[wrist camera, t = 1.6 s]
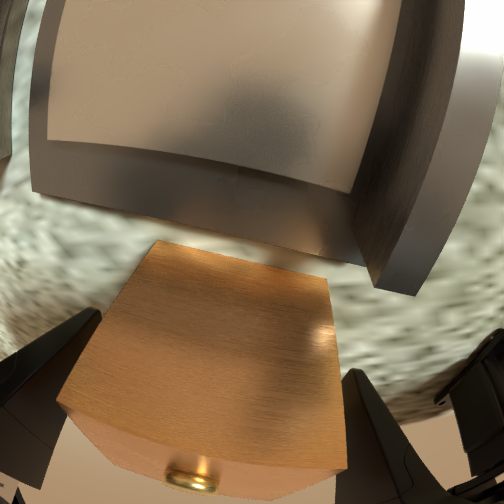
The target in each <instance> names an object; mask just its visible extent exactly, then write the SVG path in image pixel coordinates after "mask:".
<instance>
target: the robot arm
mask: <svg viewBox="0 0 504 504" xmlns="http://www.w3.org/2000/svg"><path fill="white" fill-rule="evenodd" d="M101 321H102V315H101V312H100V310H99V309H96V308H93V307H88V308H86V309H85V310H83V311H81V312H80V313H78V314H76V315H75V316H73V317H71V318H70V319H68V320H66V321H65V322H63V323H61V324H60V325H58V326H57V327H55V328H53V329H52V330H50V331H48V332H47V333H45V334H44V335H42V336H40V337H39V338H37V339H36V340H34V341H32V342H31V343H29V344H28V345H26V346H24V347H23V348H21V349H20V350H18V351H17V352H15V353H13V354H12V355H10V356H9V357H7V358H5V359H4V360H2V361H1V362H0V504H25V502H24V499H23V497H22V495H21V493H20V490H19V488H18V484H19V481H20V482H22V483H24V484H27V485H29V486H31V487H34V488H36V489H39V490H40V489H41V486H42V483H43V480H44V477H45V474H46V471H47V468H48V465H49V462H50V459H51V456H52V454H53V450H54V448H55V445H56V443H57V440H58V437H59V435H60V432H61V430H62V427H63V425H64V422H65V420H66V418H67V414H66V413H65V411H64V410H63V409H62V408H61V406H60V405H59V404H58V402H57V401H56V399H57V397H58V395H59V393H60V391H61V389H62V387H63V385H64V384H65V382H66V380H67V378H68V376H69V375H70V373H71V371H72V369H73V367H74V366H75V364H76V362H77V360H78V359H79V357H80V355H81V354H82V352H83V350H84V349H85V347H86V345H87V344H88V342H89V340H90V339H91V337H92V335H93V334H94V332H95V330H96V329H97V327H98V326H99V324H100V323H101ZM341 384H342V394H343V405H344V417H345V431H346V447H347V469H346V470H344V471H342V472H340V473H338V474H336V493H335V504H504V480H503V481H502V482H500V483H498V484H497V482H496V480H495V478H496V477H498V476H500V475H502V474H503V473H504V329H503V330H501V331H500V332H498V333H497V334H496V335H495V337H494V338H493V339H492V340H491V341H490V343H489V344H488V345H487V346H486V347H485V349H484V350H483V351H482V352H481V353H480V354H479V355H478V357H477V358H476V359H475V360H474V361H473V362H472V363H471V364H470V365H469V366H468V367H467V368H466V369H465V370H464V371H463V372H462V373H461V374H460V375H459V376H458V377H457V378H456V379H455V380H454V381H453V382H452V383H451V384H450V385H449V386H448V387H447V388H446V389H445V390H444V391H443V392H442V393H441V394H439V395H438V396H437V397H436V398H435V399H434V401H433V402H434V405H435V407H448V406H453V410H454V413H455V417H456V421H457V424H458V428H459V432H460V437H461V441H462V445H463V450H464V452H465V453H467V455H468V461H469V466H470V472H471V477H473V476H478V477H476V478H474V479H472V480H470V481H467V482H465V483H462V484H460V485H457V486H454V487H452V488H450V489H448V490H447V491H446V490H445V489H444V488H443V487H442V486H441V485H440V484H439V482H438V481H437V480H436V479H435V477H434V476H433V475H432V474H431V473H430V471H429V470H428V468H427V467H426V466H425V464H424V463H423V462H422V460H421V459H420V458H419V456H418V455H417V453H416V451H415V450H414V448H413V447H412V445H411V444H410V443H409V441H408V439H407V437H406V436H405V435H404V433H403V431H402V430H401V428H400V426H399V425H398V423H397V422H396V420H395V419H394V417H393V416H392V414H391V412H390V411H389V409H388V408H387V406H386V405H385V403H384V402H383V400H382V399H381V397H380V396H379V394H378V392H377V391H376V389H375V388H374V386H373V385H372V383H371V382H370V380H369V379H368V377H367V376H366V374H365V373H364V371H363V370H362V369H356V368H352V369H350V370H349V371H348V373H347V374H346V375H345V376H344V378H343V379H342V380H341Z"/></svg>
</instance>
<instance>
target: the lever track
mask: <svg viewBox="0 0 504 504" xmlns="http://www.w3.org/2000/svg"><path fill="white" fill-rule="evenodd" d="M28 1H29V0H0V159H2V158H5V157H7V156H9V155H11V154H12V150H11V101H12V86H13V76H14V67H15V60H16V53H17V47H18V42H19V37H20V32H21V27H22V23H23V19H24V15H25V11H26V8H27V4H28Z"/></svg>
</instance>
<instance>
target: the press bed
mask: <svg viewBox="0 0 504 504" xmlns="http://www.w3.org/2000/svg"><path fill="white" fill-rule="evenodd" d="M503 66H504V0H47V1H46V5H45V9H44V12H43V16H42V20H41V24H40V29H39V33H38V38H37V44H36V49H35V55H34V62H33V69H32V78H31V88H30V103H29V158H30V173H31V184H32V192H37V193H42V194H47V195H52V196H56V197H61V198H66V199H71V200H75V201H80V202H85V203H90V204H94V205H99V206H104V207H108V208H113V209H118V210H122V211H127V212H131V213H136V214H141V215H145V216H150V217H154V218H159V219H163V220H168V221H172V222H177V223H181V224H185V225H190V226H194V227H199V228H203V229H207V230H212V231H216V232H221V233H225V234H229V235H234V236H238V237H242V238H247V239H251V240H255V241H259V242H264V243H268V244H272V245H276V246H281V247H285V248H289V249H293V250H297V251H302V252H306V253H310V254H314V255H318V256H322V257H327V258H331V259H335V260H339V261H343V262H347V263H351V264H355V265H359V266H363V267H367V270H368V272H369V275H370V278H371V280H372V283H373V286H374V288H378V289H383V290H387V291H392V292H396V293H401V294H406V295H410V296H416V294H417V293H418V291H419V289H420V288H421V286H422V285H423V283H424V281H425V280H426V278H427V276H428V274H429V273H430V271H431V269H432V267H433V266H434V264H435V262H436V260H437V258H438V257H439V255H440V253H441V251H442V249H443V247H444V245H445V243H446V241H447V239H448V237H449V235H450V233H451V231H452V229H453V227H454V225H455V223H456V221H457V219H458V217H459V214H460V212H461V210H462V208H463V205H464V203H465V201H466V198H467V196H468V193H469V191H470V188H471V186H472V183H473V181H474V178H475V175H476V173H477V170H478V167H479V164H480V161H481V159H482V156H483V152H484V149H485V146H486V143H487V140H488V136H489V133H490V129H491V125H492V122H493V118H494V114H495V109H496V105H497V101H498V96H499V91H500V85H501V80H502V73H503Z"/></svg>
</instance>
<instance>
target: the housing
mask: <svg viewBox="0 0 504 504" xmlns="http://www.w3.org/2000/svg"><path fill="white" fill-rule="evenodd" d="M56 401H57V402H58V404H59V405H60V406H61V408H62V409H63V410H64V411H65V413H66V414H67V415H68V416H69V417H70V419H71V420H72V421H73V422H74V423H75V425H76V426H77V427H78V428H79V429H80V430H81V431H82V432H83V434H84V435H85V436H86V437H87V438H88V439H89V440H90V441H91V442H92V443H93V444H94V445H95V447H97V449H98V450H99V451H100V452H101V453H103V454H104V456H105V457H106V458H108V459H109V460H110V461H111V462H112V463H113V464H114V465H117V466H119V467H121V468H124V469H127V470H129V471H132V472H135V473H138V474H141V475H144V476H147V477H150V478H153V479H156V480H159V481H162V484H163V485H165V486H168V487H170V488H173V489H177V490H180V491H183V492H187V493H191V494H196V495H202V496H210V497H216V496H218V495H224V496H231V497H238V498H247V499H255V500H266V501H272V500H275V499H278V498H281V497H283V496H286V495H289V494H292V493H294V492H297V491H300V490H302V489H305V488H307V487H309V486H312V485H314V484H316V483H319V482H321V481H323V480H325V479H328V478H330V477H332V476H334V475H336V474H338V473H340V472H342V471H344V470H346V469H347V447H346V431H345V417H344V405H343V394H342V384H341V375H340V366H339V357H338V349H337V342H336V334H335V327H334V320H333V314H332V307H331V301H330V295H329V289H328V283H327V279H325V278H320V277H316V276H311V275H307V274H302V273H298V272H294V271H289V270H285V269H280V268H276V267H272V266H267V265H263V264H259V263H254V262H250V261H246V260H241V259H237V258H233V257H229V256H224V255H220V254H216V253H212V252H207V251H203V250H199V249H195V248H190V247H186V246H182V245H178V244H174V243H169V242H165V241H161V240H157V242H156V243H155V244H154V246H153V247H152V248H151V250H150V251H149V252H148V254H147V255H146V256H145V258H144V259H143V261H142V262H141V263H140V265H139V266H138V268H137V269H136V270H135V272H134V273H133V275H132V276H131V277H130V279H129V280H128V282H127V283H126V285H125V286H124V288H123V289H122V291H121V292H120V293H119V295H118V296H117V298H116V299H115V301H114V302H113V304H112V305H111V307H110V309H109V310H108V312H107V313H106V315H105V316H104V318H103V319H102V321H101V323H100V324H99V326H98V327H97V329H96V330H95V332H94V334H93V335H92V337H91V339H90V340H89V342H88V344H87V345H86V347H85V349H84V350H83V352H82V354H81V355H80V357H79V359H78V360H77V362H76V364H75V366H74V367H73V369H72V371H71V373H70V375H69V376H68V378H67V380H66V382H65V384H64V385H63V387H62V389H61V391H60V393H59V395H58V397H57V399H56Z"/></svg>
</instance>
